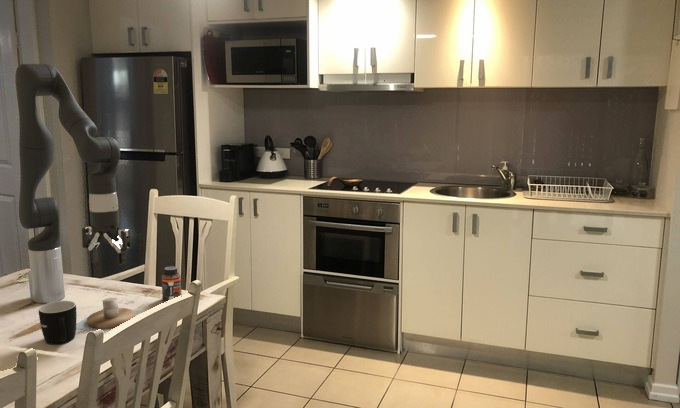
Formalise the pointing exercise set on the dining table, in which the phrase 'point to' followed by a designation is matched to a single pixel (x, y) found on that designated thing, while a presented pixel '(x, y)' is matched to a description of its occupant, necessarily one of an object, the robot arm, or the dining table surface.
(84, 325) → the mat
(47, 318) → the mug
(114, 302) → the lid
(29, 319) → the dining table surface
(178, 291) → the supplement bottle
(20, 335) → the dining table surface
